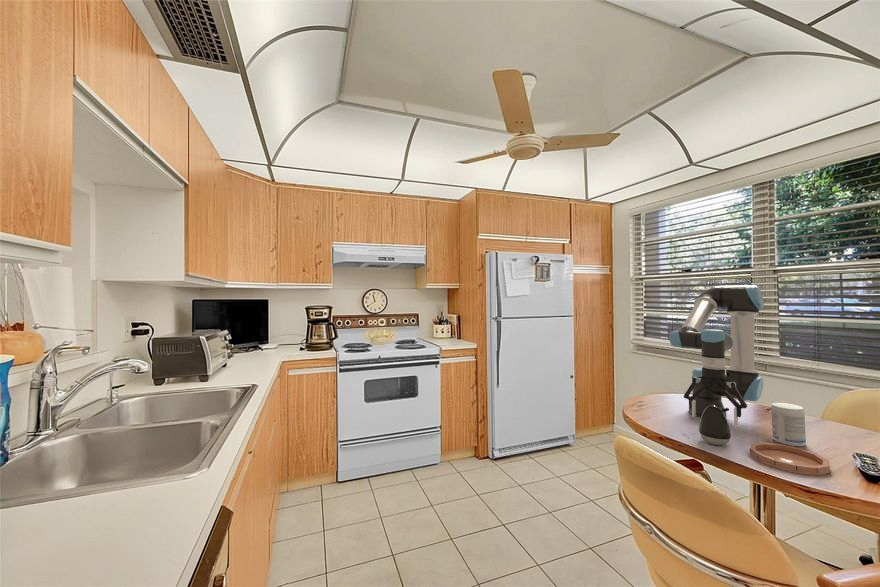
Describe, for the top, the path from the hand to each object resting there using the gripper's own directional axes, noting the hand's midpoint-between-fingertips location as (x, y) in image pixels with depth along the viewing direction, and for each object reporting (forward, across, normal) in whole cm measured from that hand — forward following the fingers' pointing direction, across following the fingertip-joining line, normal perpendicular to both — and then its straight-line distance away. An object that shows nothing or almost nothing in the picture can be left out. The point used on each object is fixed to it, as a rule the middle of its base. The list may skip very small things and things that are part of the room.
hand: (714, 420), depth 142 cm
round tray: (+9, +21, 0) cm, 23 cm away
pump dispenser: (+9, 0, 0) cm, 9 cm away
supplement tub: (+9, +20, +22) cm, 31 cm away
